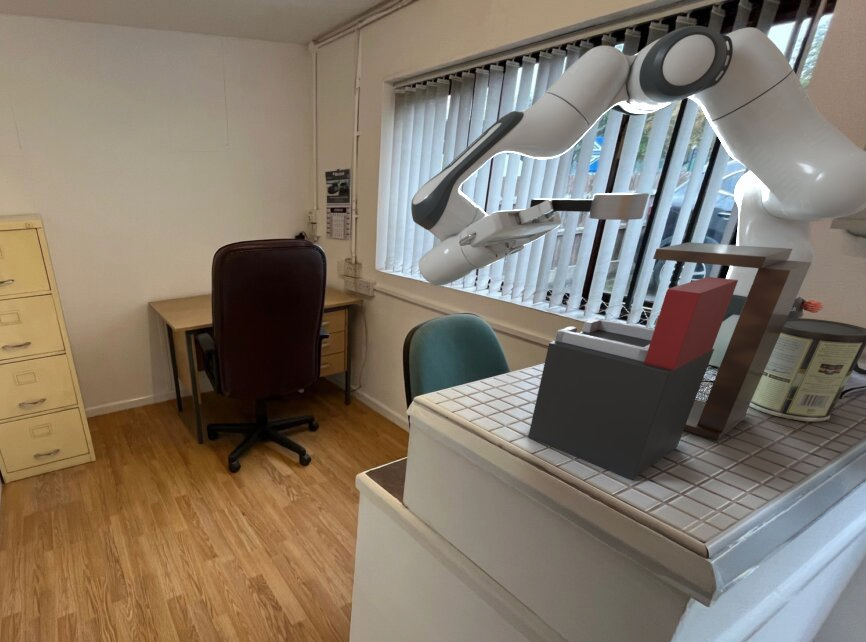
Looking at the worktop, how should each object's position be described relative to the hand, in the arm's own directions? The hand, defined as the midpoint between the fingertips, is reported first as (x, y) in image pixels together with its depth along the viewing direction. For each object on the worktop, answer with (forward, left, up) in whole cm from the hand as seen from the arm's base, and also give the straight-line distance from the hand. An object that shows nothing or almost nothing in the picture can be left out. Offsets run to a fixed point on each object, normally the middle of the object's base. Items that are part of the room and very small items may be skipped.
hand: (557, 203), depth 78 cm
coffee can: (-39, +6, -32) cm, 51 cm away
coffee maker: (-6, +24, -32) cm, 41 cm away
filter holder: (-3, +3, -2) cm, 5 cm away
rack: (-21, +11, -32) cm, 40 cm away
